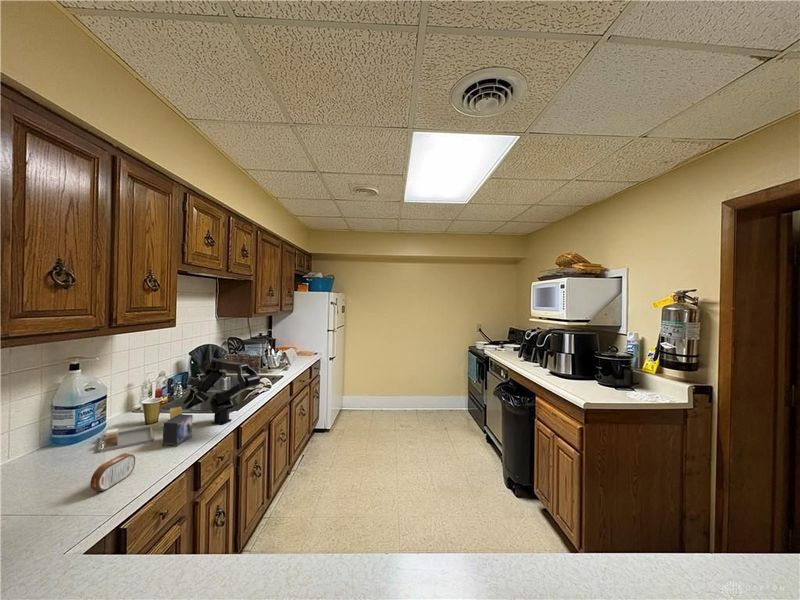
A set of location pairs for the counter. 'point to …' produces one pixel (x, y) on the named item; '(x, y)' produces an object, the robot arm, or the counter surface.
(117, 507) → the counter surface
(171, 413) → the mustard box
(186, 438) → the small box
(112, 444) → the walnut block
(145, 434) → the tray
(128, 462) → the tin
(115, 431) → the off-white block
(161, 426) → the mat
